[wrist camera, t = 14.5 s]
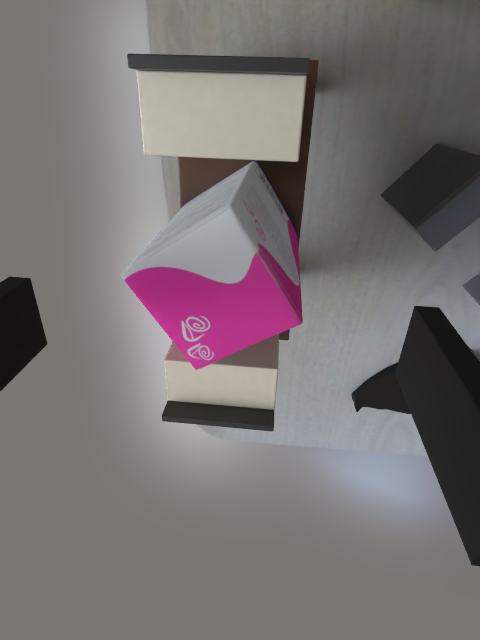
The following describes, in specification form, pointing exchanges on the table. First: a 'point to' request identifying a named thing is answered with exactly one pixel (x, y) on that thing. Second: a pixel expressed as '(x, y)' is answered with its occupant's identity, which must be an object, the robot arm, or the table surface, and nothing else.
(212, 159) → the shelf
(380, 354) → the table surface
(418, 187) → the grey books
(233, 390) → the cream books
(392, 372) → the dark sector wedge
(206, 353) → the supplement box
